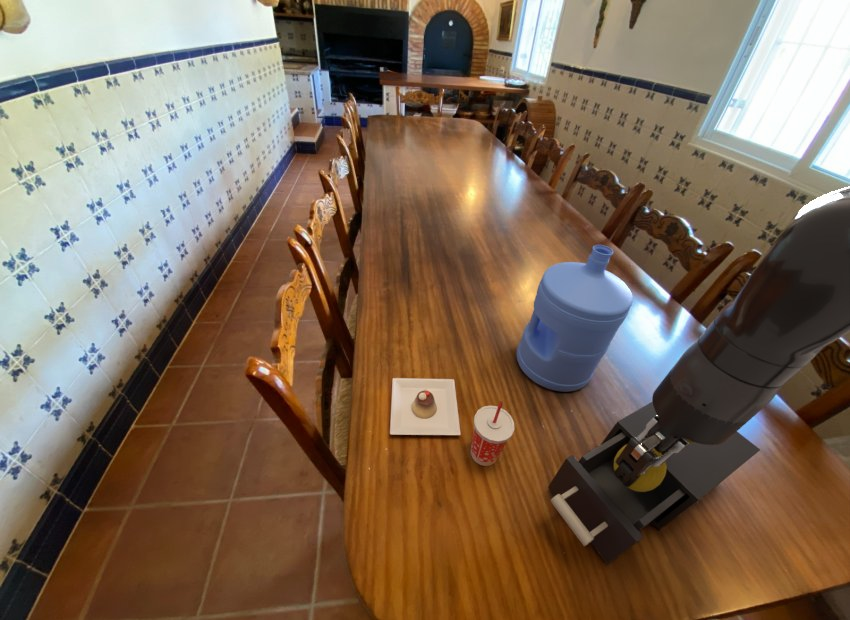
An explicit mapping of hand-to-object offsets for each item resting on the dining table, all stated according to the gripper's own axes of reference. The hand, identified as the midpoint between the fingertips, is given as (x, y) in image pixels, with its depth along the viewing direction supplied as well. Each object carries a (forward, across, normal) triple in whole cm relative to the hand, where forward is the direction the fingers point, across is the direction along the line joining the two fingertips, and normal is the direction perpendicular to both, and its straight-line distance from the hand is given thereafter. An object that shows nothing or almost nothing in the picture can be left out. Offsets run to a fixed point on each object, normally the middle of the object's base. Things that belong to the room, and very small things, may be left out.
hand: (637, 468), depth 47 cm
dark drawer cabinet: (+12, +12, 0) cm, 17 cm away
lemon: (+4, 0, 0) cm, 4 cm away
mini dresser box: (+11, -1, 0) cm, 11 cm away
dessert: (+12, -16, +27) cm, 34 cm away
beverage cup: (+12, -12, +15) cm, 22 cm away
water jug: (+12, +14, +25) cm, 31 cm away
